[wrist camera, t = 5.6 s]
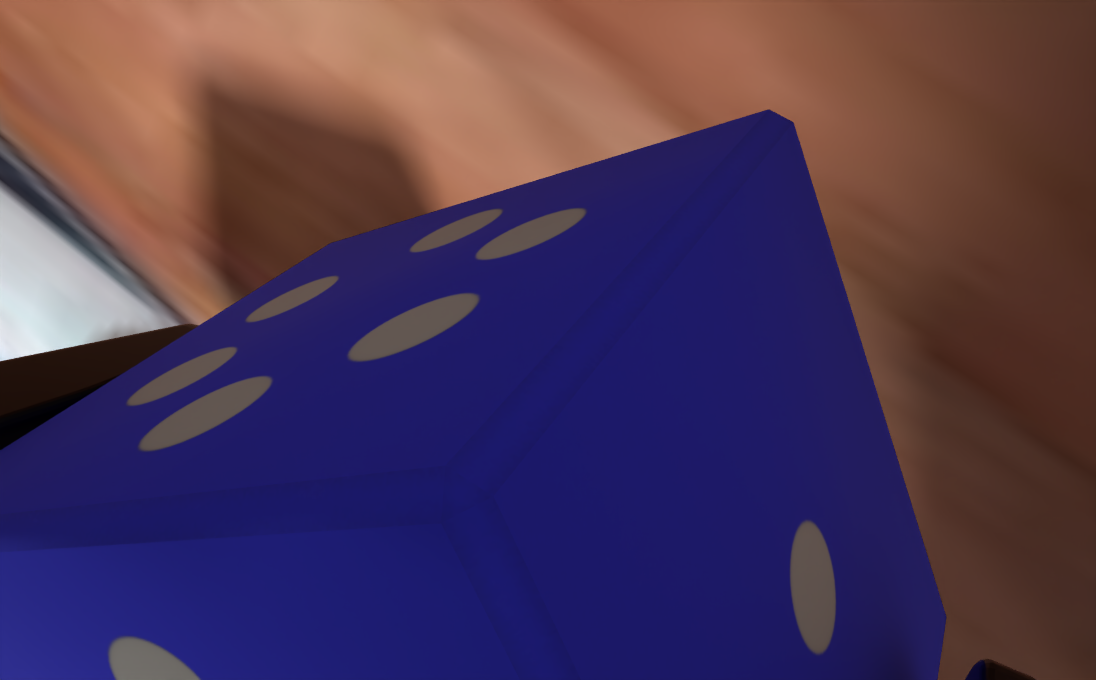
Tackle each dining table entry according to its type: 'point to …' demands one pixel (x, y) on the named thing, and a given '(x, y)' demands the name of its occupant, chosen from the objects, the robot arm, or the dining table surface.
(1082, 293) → the dining table surface
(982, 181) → the dining table surface
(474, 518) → the die
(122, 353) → the robot arm
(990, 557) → the dining table surface
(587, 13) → the dining table surface
